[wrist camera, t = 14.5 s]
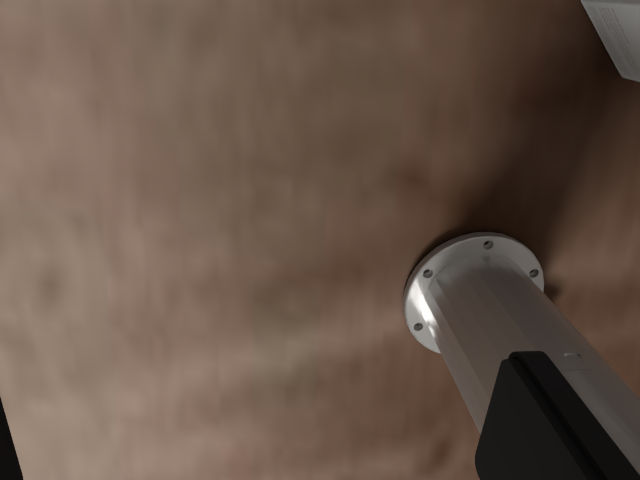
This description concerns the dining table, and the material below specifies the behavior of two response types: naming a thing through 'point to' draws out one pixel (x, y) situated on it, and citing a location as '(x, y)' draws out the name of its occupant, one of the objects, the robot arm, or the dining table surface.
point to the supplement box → (618, 32)
